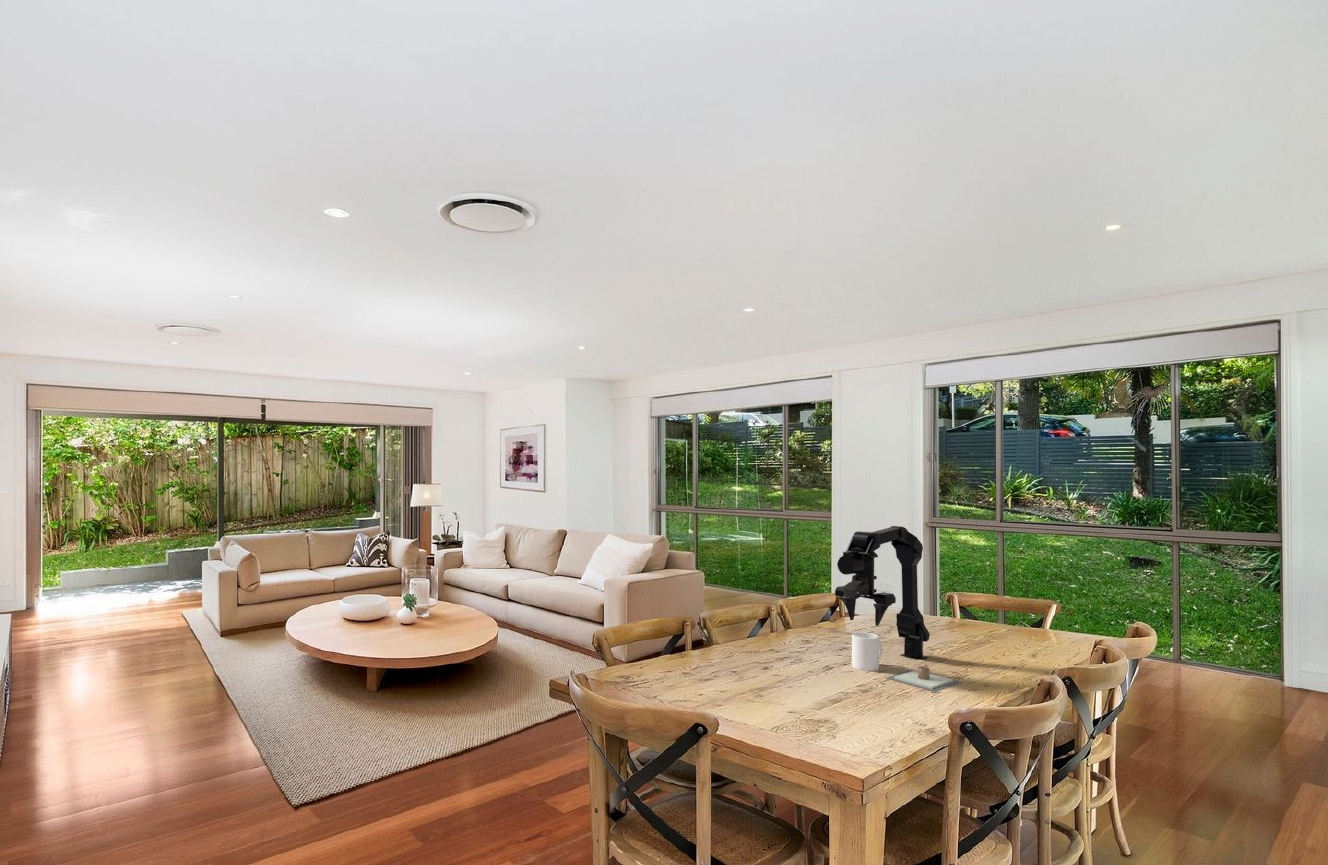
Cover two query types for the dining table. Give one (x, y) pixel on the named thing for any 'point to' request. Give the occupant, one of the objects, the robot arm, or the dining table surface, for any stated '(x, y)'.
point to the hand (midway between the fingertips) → (864, 622)
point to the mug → (866, 651)
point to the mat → (925, 687)
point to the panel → (923, 678)
